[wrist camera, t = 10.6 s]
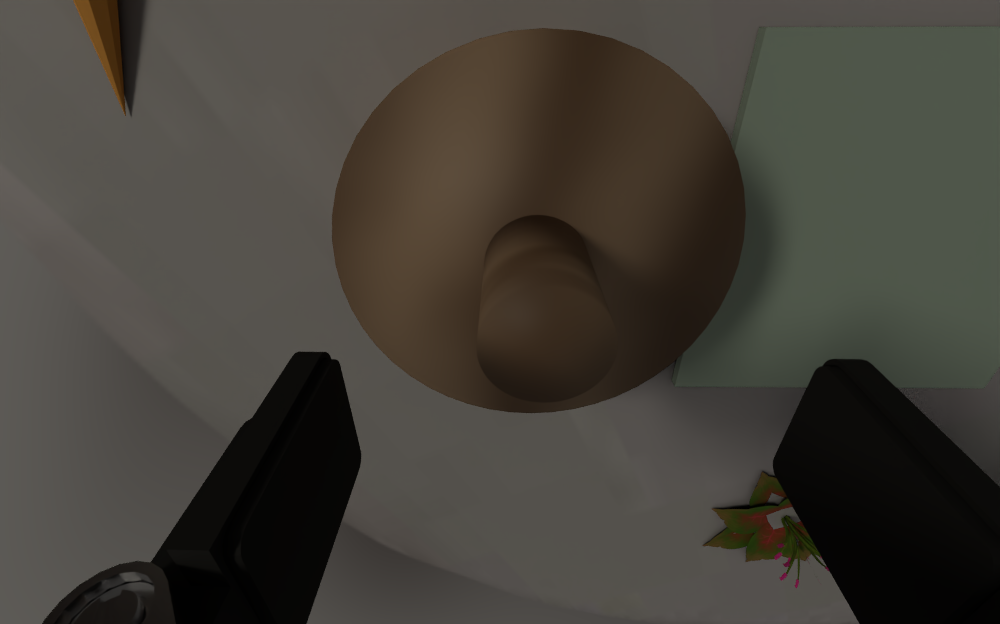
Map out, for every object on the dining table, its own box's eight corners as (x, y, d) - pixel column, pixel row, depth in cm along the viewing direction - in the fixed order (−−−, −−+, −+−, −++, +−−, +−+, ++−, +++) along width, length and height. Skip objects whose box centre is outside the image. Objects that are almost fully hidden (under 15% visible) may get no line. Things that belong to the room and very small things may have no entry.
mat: (1222, 26, 18) (1242, 25, 18) (975, 381, 27) (984, 388, 27) (759, 27, 18) (766, 27, 18) (671, 379, 28) (674, 386, 27)
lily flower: (903, 473, 33) (957, 533, 29) (807, 566, 39) (841, 626, 35) (748, 445, 31) (783, 504, 27) (673, 546, 37) (693, 606, 33)
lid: (788, 26, 13) (968, 25, 8) (687, 397, 20) (747, 520, 15) (299, 30, 13) (171, 31, 8) (372, 396, 21) (329, 518, 16)
